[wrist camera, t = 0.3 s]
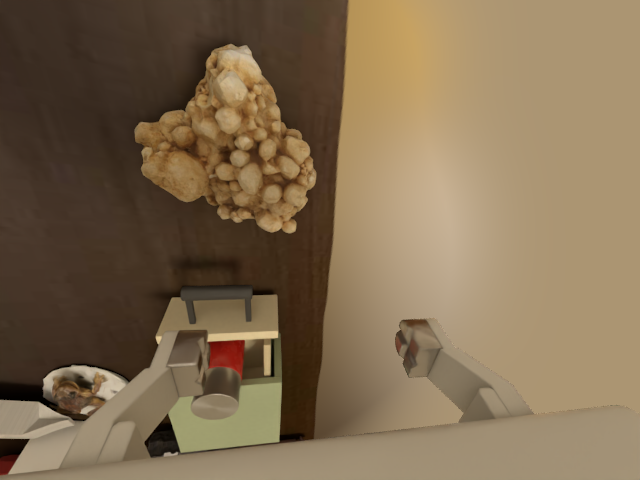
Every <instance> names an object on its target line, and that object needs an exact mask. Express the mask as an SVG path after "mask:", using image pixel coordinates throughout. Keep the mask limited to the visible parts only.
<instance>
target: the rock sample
mask: <svg viewBox="0 0 640 480" xmlns="http://www.w3.org/2000/svg"><path fill="white" fill-rule="evenodd" d="M236 448H240V446H238V447H228V448H219V449H210V450H201V451H192V452H183V453H181V452H180V448H179V445H178V442H177V439H176V436H175V433H174V430H167V431H160V432H156V433H154V434H153V435H152V436H151V438H150V440H149V445H148V449H147V450H148V453H149V455H150V457H151V458H157V457H166V456H175V455H184V454H192V453H201V452H210V451H218V450H227V449H236Z"/></svg>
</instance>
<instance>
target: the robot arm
mask: <svg viewBox="0 0 640 480" xmlns="http://www.w3.org/2000/svg"><path fill="white" fill-rule="evenodd" d="M399 327H400V329H401V330H400V331H399V332H397V334H396V338H395V344H396V349H397V352H398V354H399V355H400V356H401V357H402V358H403V359H404V361H403V365H404V368H405V370H406V372H407V375H408V377H409V378H414V377H427V378H428V379H429V380H430V381H431V382H432V383H433V384H434V385H435V386H436V387H437V388H439V389H440V390H441V391H442V392H443V393H444V394H445V395H446V396H447V397H448V398H449V399H450V400H451V401H452V402H453V403H454V404H455V405H456V406H457V407H458V408H459V409H460V410H461V411H462V412H463V413H464V414H463V415H462V417H461V419H460V420H459V422H458V423H454V424H445V425H437V426H428V427H419V428H411V429H401V430H393V431H384V432H376V433H367V434H359V435H349V436H340V437H332V438H323V439H314V440H305V441H297V442H288V443H279V444H271V445H262V446H253V447H245V448H236V449H227V450H218V451H210V452H201V453H192V454H184V455H175V456H166V457H157V458H151V457H150V455H149V453H148V450H147V448H146V446H145V444H144V442H145V441H146V440H147V438H148V437H149V436H150V435H151V433H152V432H153V431H154V430H155V428H156V427H157V426H158V425H159V423H160V422H161V421H162V420H163V418H164V417H165V416H166V415H167V413H168V412H169V411H170V410H171V408H172V407H173V406H174V405H175V404H176V402H177V401H178V400H179V398H180V397H189V396H198V395H203V392H204V388H205V383H206V373H205V371H206V370H207V369H208V368H209V363H210V354H211V352H210V343H208V342H207V340H208V331H207V330H177V331H165V333H164V334H163V336H162V338H161V341H160V343H159V346H158V348H157V351H156V353H155V356H154V358H153V361H152V363H151V366H150V368H147V369H144V370H143V371H142V372H141V373H140V374H139V375H137V376H136V377H135V378H134V379H133V380H132V381H131V382H129V383H128V384H127V385H126V386H125V387H124V388H122V389H121V390H120V391H119V392H118V393H117V394H116V395H114V396H113V397H112V398H111V399H110V400H109V401H108V402H106V403H105V404H104V405H103V406H102V407H101V408H100V409H98V410H97V411H96V412H95V413H94V414H93V415H91V416H90V417H89V418H88V419H87V420H86V421H85V422H83V423H82V425H81V426H80V428H79V430H78V432H77V434H76V436H75V438H74V440H73V442H72V444H71V446H70V447H69V449H68V451H67V453H66V455H65V457H64V459H63V461H62V463H61V465H60V466H59V468H58V469H52V470H43V471H34V472H25V473H17V474H8V475H0V480H640V413H638V412H636V411H634V410H632V409H630V408H628V407H624V406H620V405H610V406H602V407H594V408H584V409H577V410H567V411H559V412H549V413H541V414H534V413H533V412H532V410H531V409H530V408H529V406H528V405H527V404H526V402H525V401H524V400H523V398H522V397H521V395H520V394H519V393H518V392H517V390H516V389H515V387H514V386H513V385H512V384H511V383H509V382H508V381H507V380H505V379H504V378H502V377H501V376H499V375H498V374H496V373H495V372H493V371H492V370H490V369H489V368H487V367H486V366H484V365H483V364H481V363H480V362H479V361H477V360H476V359H474V358H473V357H471V356H470V355H468V354H467V353H465V352H464V351H462V350H461V349H459V348H455V347H454V345H453V344H452V342H451V341H450V339H449V338H448V336H447V335H446V333H445V332H444V330H443V329H442V327H441V325H440V324H439V322H438V321H437V320H436V319H435V318H429V319H408V320H402V321H401V322H400V325H399Z"/></svg>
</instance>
